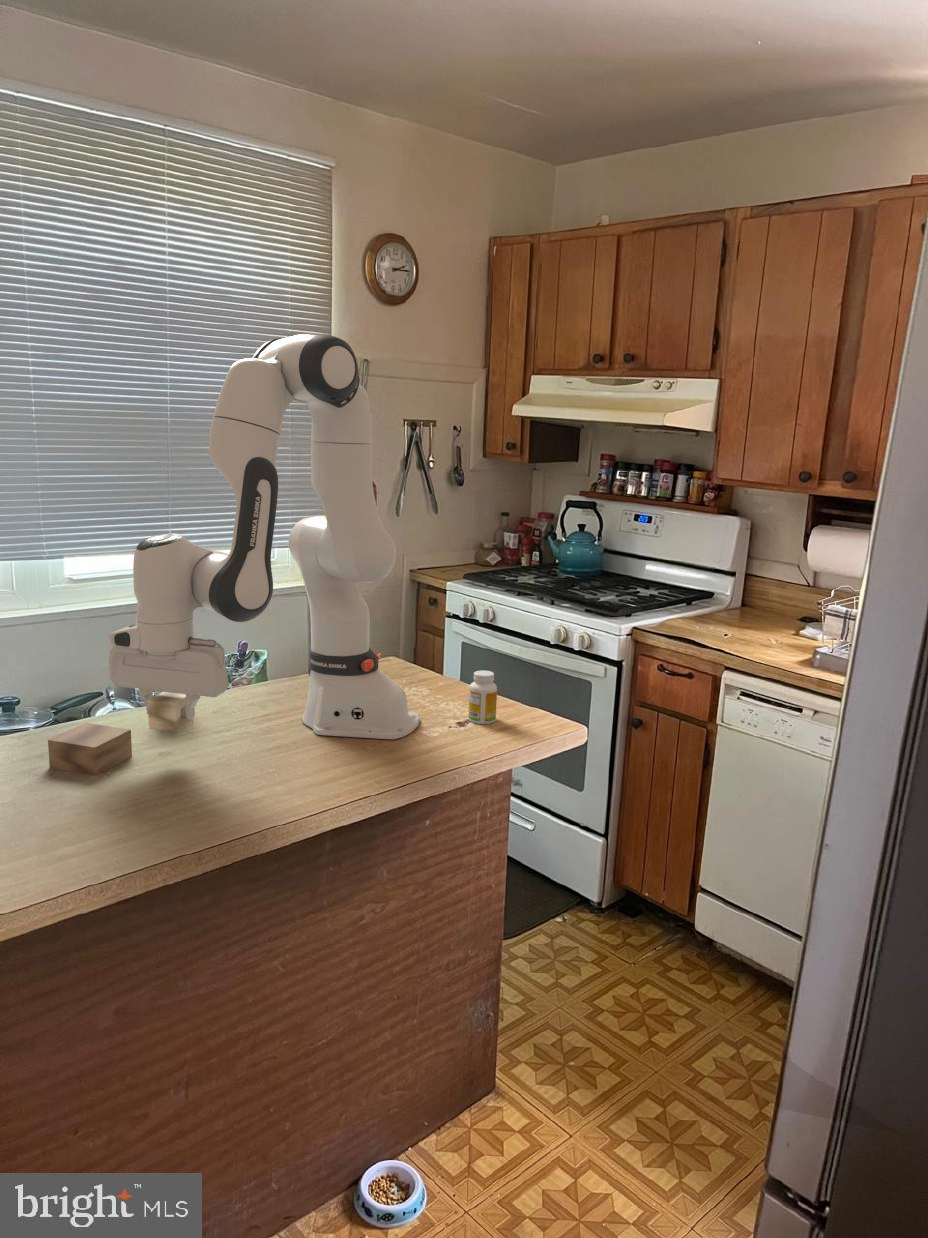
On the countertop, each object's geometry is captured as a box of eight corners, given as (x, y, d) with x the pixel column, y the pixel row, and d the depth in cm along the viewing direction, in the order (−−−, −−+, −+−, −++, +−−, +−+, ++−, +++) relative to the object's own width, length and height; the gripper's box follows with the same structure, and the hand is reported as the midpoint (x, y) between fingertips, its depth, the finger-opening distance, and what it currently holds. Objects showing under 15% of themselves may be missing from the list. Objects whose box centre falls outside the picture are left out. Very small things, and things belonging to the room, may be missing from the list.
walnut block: (132, 757, 152) (130, 729, 151) (96, 777, 143) (94, 747, 142) (87, 750, 154) (85, 722, 153) (49, 768, 146) (47, 739, 145)
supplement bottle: (495, 716, 179) (497, 669, 177) (495, 725, 174) (498, 677, 172) (468, 715, 179) (470, 668, 177) (468, 724, 174) (470, 676, 172)
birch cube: (193, 722, 150) (191, 693, 149) (176, 732, 145) (174, 703, 144) (166, 718, 151) (165, 690, 150) (149, 728, 147) (147, 699, 146)
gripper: (233, 636, 145) (236, 716, 148) (123, 625, 150) (129, 703, 154) (213, 645, 139) (217, 729, 143) (99, 634, 144) (106, 715, 148)
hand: (170, 716), depth 148 cm, fingers closed on birch cube, 5 cm apart
